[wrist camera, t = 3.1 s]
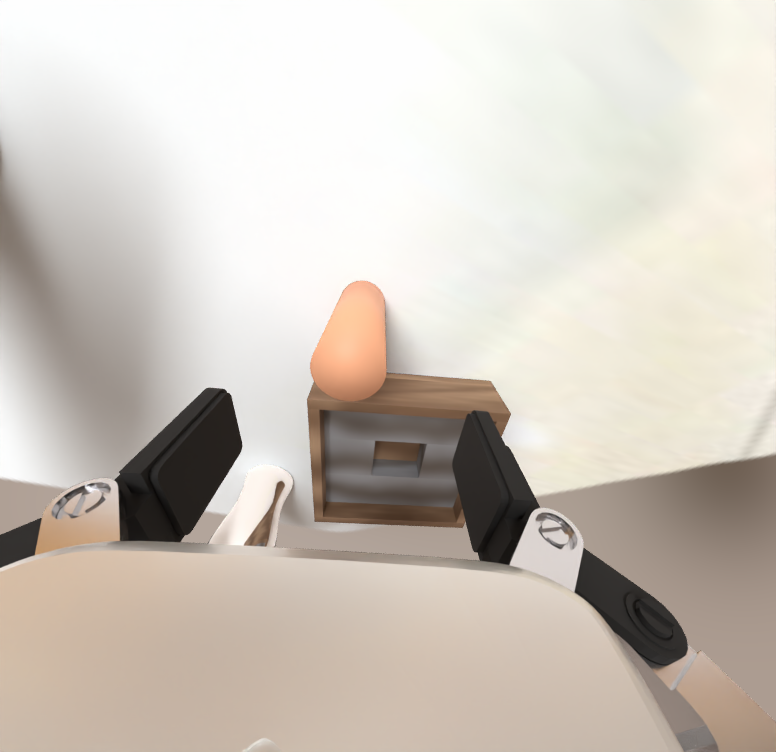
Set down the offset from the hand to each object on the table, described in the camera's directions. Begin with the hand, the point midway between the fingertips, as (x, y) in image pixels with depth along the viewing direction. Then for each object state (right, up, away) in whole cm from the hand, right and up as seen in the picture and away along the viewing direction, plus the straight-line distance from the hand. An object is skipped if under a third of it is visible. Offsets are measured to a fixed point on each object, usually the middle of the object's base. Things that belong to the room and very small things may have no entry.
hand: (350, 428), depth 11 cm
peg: (-1, +9, +14) cm, 16 cm away
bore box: (+3, -5, +22) cm, 23 cm away
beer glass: (-14, -12, +26) cm, 32 cm away
